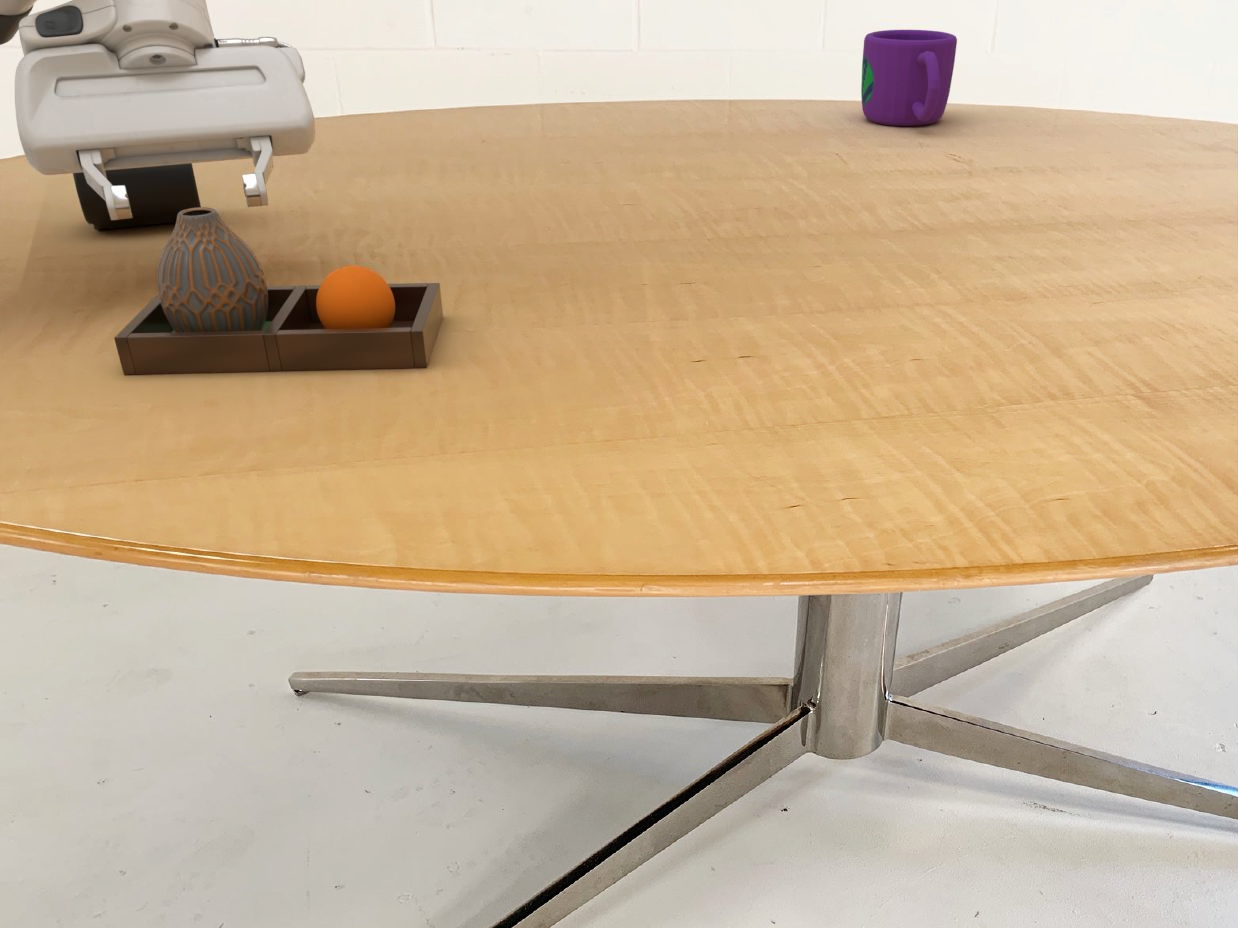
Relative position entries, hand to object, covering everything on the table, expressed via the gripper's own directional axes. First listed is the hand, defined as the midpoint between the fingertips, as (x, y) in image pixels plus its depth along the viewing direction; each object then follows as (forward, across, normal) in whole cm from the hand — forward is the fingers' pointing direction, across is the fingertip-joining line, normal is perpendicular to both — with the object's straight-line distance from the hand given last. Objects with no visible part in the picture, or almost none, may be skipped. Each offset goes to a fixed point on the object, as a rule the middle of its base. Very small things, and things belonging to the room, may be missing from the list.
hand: (190, 208), depth 84 cm
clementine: (+14, -9, +4) cm, 17 cm away
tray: (+14, -4, +3) cm, 15 cm away
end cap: (-15, +4, -26) cm, 30 cm away
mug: (-24, -88, -34) cm, 97 cm away
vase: (+12, 0, +2) cm, 12 cm away
